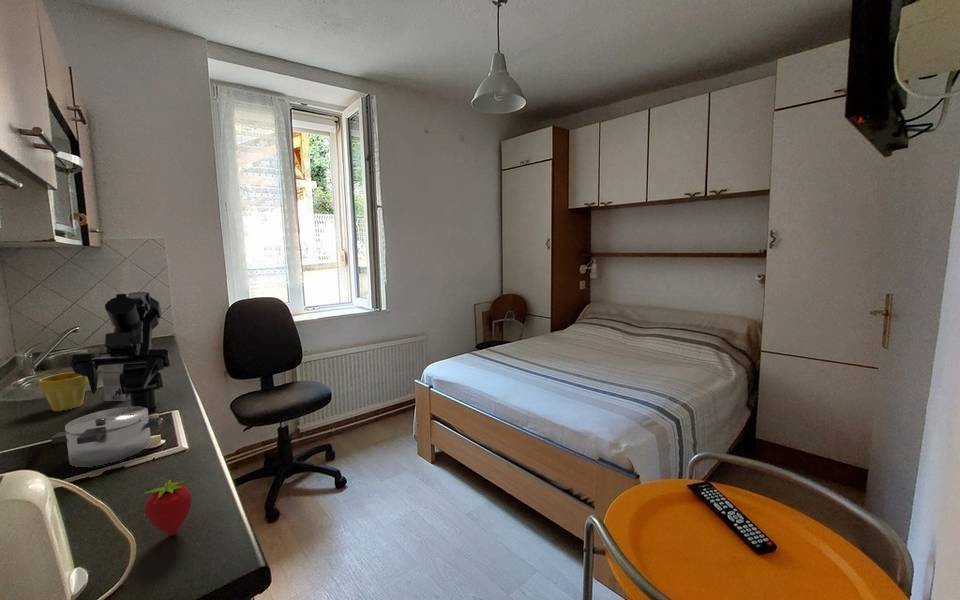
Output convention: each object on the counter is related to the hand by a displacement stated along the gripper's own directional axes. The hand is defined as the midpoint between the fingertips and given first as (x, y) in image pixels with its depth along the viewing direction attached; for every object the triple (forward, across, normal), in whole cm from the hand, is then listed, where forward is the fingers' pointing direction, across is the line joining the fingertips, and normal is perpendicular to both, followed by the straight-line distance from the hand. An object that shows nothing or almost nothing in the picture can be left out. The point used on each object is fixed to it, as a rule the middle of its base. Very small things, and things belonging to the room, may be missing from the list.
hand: (118, 390), depth 99 cm
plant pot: (-17, -20, +38) cm, 46 cm away
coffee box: (-19, -7, +40) cm, 44 cm away
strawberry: (+43, +16, -28) cm, 54 cm away
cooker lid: (+10, -1, -3) cm, 11 cm away
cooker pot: (+14, 0, +4) cm, 14 cm away
